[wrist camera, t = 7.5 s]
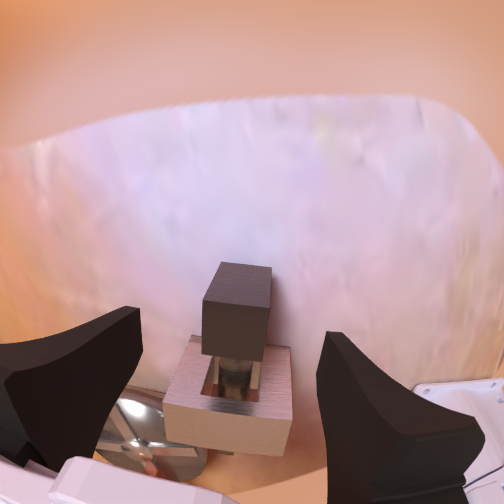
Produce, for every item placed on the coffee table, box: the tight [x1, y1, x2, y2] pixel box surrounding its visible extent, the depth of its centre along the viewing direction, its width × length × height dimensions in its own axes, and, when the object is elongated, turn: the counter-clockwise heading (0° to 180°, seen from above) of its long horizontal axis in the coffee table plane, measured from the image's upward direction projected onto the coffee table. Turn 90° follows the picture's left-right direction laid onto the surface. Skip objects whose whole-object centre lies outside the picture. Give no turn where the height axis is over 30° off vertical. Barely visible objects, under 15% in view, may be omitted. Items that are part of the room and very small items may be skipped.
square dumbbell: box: [201, 262, 272, 455], centre depth 16 cm, size 3×11×5 cm, turn 175°
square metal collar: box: [162, 335, 293, 457], centre depth 17 cm, size 6×3×6 cm, turn 85°
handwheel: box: [95, 388, 208, 483], centre depth 19 cm, size 12×10×4 cm
